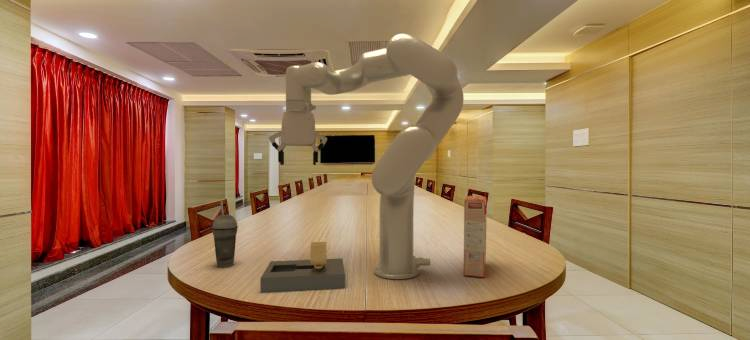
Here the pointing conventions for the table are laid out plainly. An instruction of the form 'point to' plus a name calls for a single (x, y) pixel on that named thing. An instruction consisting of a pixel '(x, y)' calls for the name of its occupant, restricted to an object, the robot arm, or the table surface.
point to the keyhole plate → (302, 276)
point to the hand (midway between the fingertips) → (298, 164)
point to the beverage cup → (224, 239)
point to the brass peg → (318, 254)
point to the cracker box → (475, 236)
